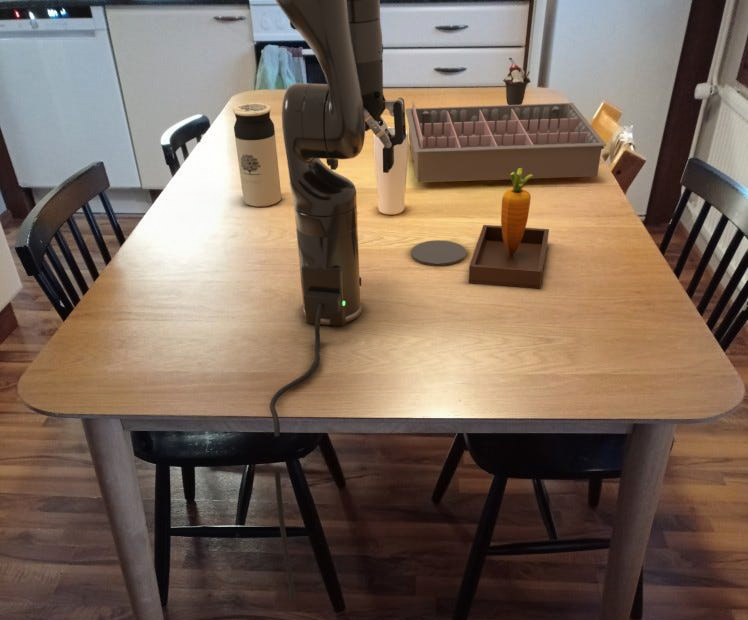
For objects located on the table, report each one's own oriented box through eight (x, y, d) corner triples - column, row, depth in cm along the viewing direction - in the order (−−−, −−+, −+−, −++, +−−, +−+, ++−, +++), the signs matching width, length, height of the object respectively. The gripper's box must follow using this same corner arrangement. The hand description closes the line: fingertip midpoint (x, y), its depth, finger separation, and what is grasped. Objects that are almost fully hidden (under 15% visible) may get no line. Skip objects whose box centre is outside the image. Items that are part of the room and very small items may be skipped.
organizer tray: (600, 184, 166) (608, 134, 159) (414, 190, 166) (414, 141, 159) (568, 138, 190) (574, 93, 184) (405, 143, 190) (405, 99, 183)
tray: (539, 288, 130) (541, 271, 128) (468, 282, 132) (469, 265, 130) (547, 245, 143) (549, 229, 141) (482, 240, 145) (483, 224, 143)
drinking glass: (404, 217, 155) (405, 138, 145) (371, 216, 156) (369, 136, 146) (410, 205, 159) (411, 127, 150) (378, 203, 161) (376, 126, 151)
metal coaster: (461, 268, 137) (461, 265, 136) (406, 263, 139) (406, 261, 138) (469, 245, 144) (469, 242, 144) (416, 241, 146) (416, 238, 146)
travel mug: (261, 191, 168) (250, 100, 156) (289, 198, 164) (280, 105, 152) (236, 202, 163) (222, 110, 151) (264, 210, 159) (253, 115, 148)
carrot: (506, 247, 142) (514, 161, 132) (530, 253, 139) (539, 167, 130) (491, 256, 139) (498, 169, 129) (515, 263, 137) (524, 175, 127)
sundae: (494, 121, 202) (499, 56, 192) (516, 118, 204) (522, 53, 194) (508, 128, 197) (514, 62, 188) (530, 124, 200) (537, 58, 190)
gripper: (302, 59, 111) (310, 175, 122) (399, 61, 108) (399, 180, 119) (316, 47, 117) (323, 160, 127) (409, 49, 114) (409, 164, 125)
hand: (360, 169), depth 123 cm, fingers open, 8 cm apart
